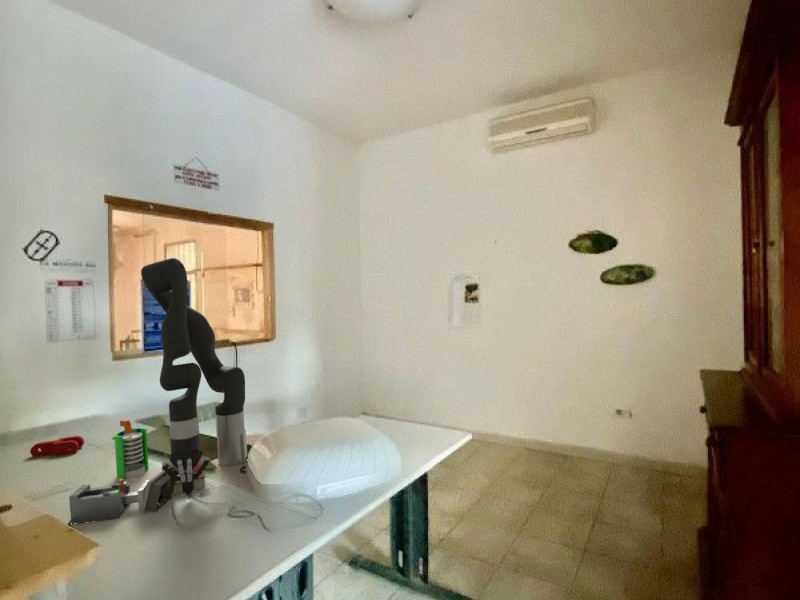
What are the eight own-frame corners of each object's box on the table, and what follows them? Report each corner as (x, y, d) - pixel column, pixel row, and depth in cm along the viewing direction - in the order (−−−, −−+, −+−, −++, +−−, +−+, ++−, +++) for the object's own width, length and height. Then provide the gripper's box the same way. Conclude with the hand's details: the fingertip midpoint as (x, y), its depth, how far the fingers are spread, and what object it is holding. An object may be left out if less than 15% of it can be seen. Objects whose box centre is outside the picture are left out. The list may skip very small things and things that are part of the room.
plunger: (152, 498, 126) (150, 471, 126) (143, 510, 119) (141, 481, 119) (101, 505, 123) (99, 477, 123) (89, 518, 116) (87, 488, 116)
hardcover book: (161, 499, 127) (160, 485, 127) (162, 473, 146) (161, 461, 146) (205, 488, 133) (204, 475, 132) (201, 465, 151) (201, 453, 151)
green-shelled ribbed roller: (131, 480, 141) (127, 425, 140) (110, 479, 142) (106, 424, 142) (152, 468, 150) (148, 416, 149) (132, 467, 151) (128, 416, 151)
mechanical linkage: (84, 447, 175) (83, 435, 175) (77, 453, 168) (76, 440, 168) (36, 453, 170) (35, 441, 170) (27, 460, 163) (26, 447, 163)
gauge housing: (133, 500, 126) (131, 476, 126) (119, 518, 116) (117, 492, 116) (86, 507, 124) (84, 482, 123) (67, 525, 114) (65, 499, 114)
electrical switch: (160, 498, 127) (161, 466, 127) (178, 499, 127) (178, 468, 127) (140, 515, 118) (140, 481, 117) (158, 516, 118) (159, 482, 117)
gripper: (212, 427, 129) (215, 484, 130) (163, 432, 127) (167, 490, 127) (206, 435, 122) (210, 495, 123) (155, 441, 119) (159, 503, 120)
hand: (188, 493), depth 125 cm, fingers closed
